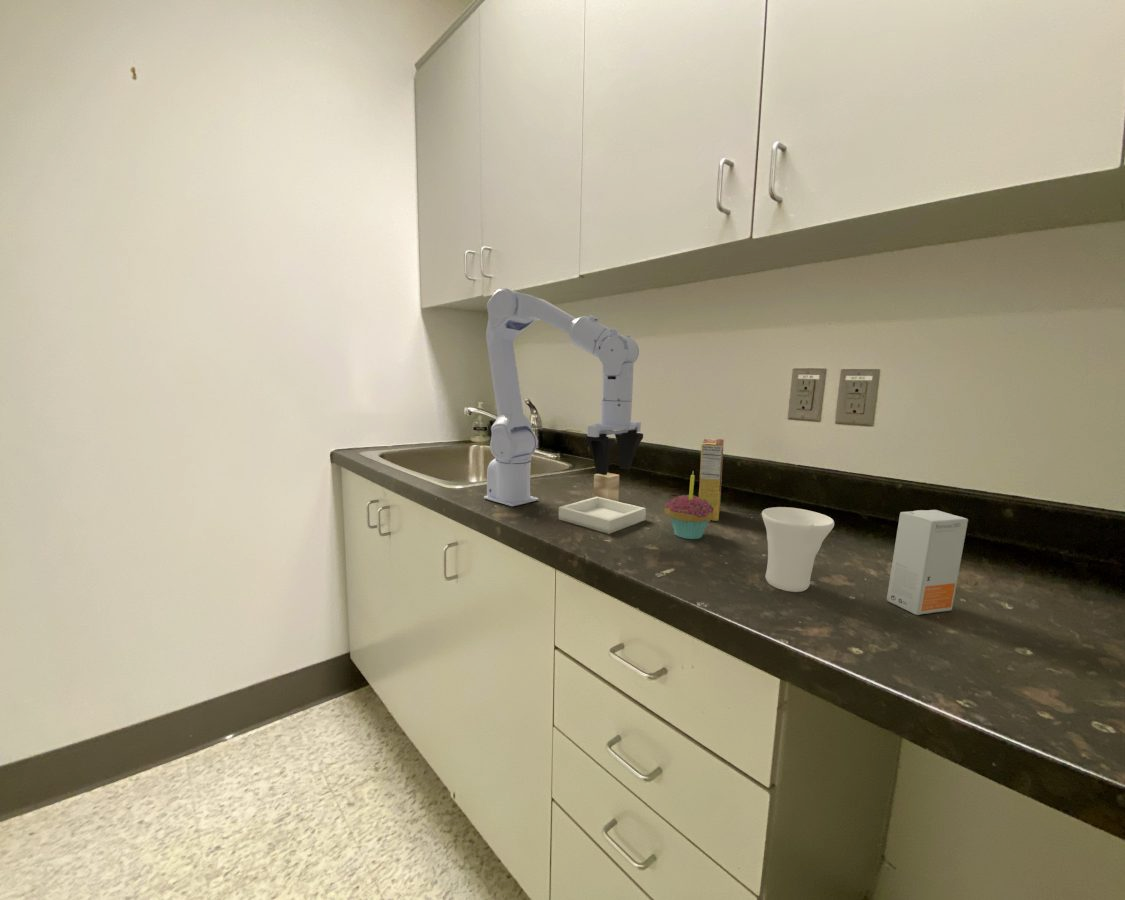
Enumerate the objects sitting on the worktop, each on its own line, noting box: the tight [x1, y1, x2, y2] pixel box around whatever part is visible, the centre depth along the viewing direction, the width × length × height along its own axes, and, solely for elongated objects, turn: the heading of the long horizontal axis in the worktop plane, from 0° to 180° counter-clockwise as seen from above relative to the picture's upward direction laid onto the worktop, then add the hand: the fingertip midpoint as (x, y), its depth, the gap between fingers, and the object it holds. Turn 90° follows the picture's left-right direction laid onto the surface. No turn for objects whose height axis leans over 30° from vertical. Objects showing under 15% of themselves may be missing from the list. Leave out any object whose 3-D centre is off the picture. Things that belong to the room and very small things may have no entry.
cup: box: [761, 506, 835, 593], centre depth 66 cm, size 9×9×10 cm
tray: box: [557, 496, 647, 535], centre depth 93 cm, size 12×12×2 cm
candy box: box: [698, 438, 725, 522], centre depth 98 cm, size 9×4×15 cm, turn 160°
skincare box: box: [886, 509, 969, 616], centre depth 60 cm, size 6×4×12 cm
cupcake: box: [664, 470, 714, 540], centre depth 85 cm, size 9×8×12 cm
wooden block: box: [592, 472, 620, 502], centre depth 107 cm, size 4×4×6 cm
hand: (613, 471), depth 93 cm, fingers open, 7 cm apart
